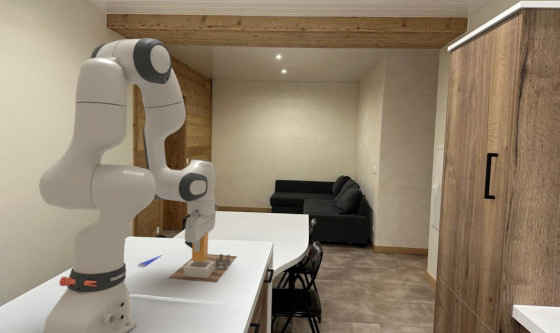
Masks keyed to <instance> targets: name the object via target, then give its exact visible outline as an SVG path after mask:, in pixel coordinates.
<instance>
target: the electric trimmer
mask: <svg viewBox="0 0 560 333" xmlns="http://www.w3.org/2000/svg"><path fill="white" fill-rule="evenodd" d="M184 244H185V245H186V246H188V247H189V248H191V249H192V242H186V241H185V240H184Z"/></svg>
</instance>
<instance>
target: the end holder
mask: <svg viewBox="0 0 560 333" xmlns="http://www.w3.org/2000/svg"><path fill="white" fill-rule="evenodd" d="M214 266H215V261H204V262H203V261H192V260H191V261H190V262H189V263H188V264H187V265H185V266H184V275H183V276H189V277H201V278H208V277H209V275H210V274H211V273H212V272H213V271H214Z"/></svg>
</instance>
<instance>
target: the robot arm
mask: <svg viewBox="0 0 560 333" xmlns="http://www.w3.org/2000/svg"><path fill="white" fill-rule="evenodd" d="M129 85H136V86H137V87H138V88H139V89H140V91H141V98H142V103H143V108H144V112H145V113H144V114H145V123H144V125H143V127H142V141H143V149H144V156H145V166H146V168H144V167H139V166H135V165H131V164H109V163H108V164H105V163H101V162H102V158H103V155H104V154H105V153H106V152H107V151H109V150H112V149H114V148H117V147H119V146H120V145H121V144H122V143H123V142H124V141H125V140H126V138H127V137H126V136H127V126H128V125H127V122H128V121H127V120H128V117H127V116H128V97H127V96H128V93H127V91H128V87H129ZM74 109H75V111H74V112H75V113H74V126H73V134H72V138H71V142H70V143H69V145H68V148H67V150H66V151H65V152H64V154H63V155H62V156H61V158H60V159H58V161H56V162H55V163H53V164H52V165H50V166H49V167H48V168H47V169H45V171H44V172H43V173H42V175H41V178H40V180H39V185H38V188H39V189H38V190H39V194H40V196H41V198H42V199H43V201H44V202H45V203H46V204H47V205H48V206H52V207H57V208H62V209H67V210H88V211H89V210H91V211H92V210H94V211H95V210H97V211H99V215H98V216H99V217H98V219H97V221H96V222H93V223H90V224H89V225H87V226H84V227H83V228H81V229H80V230H79V231H78V232H77V233H76V234H75V236H74V237H73V242H72V246H73V247H72V248H73V249H72V253H73V255H72V258H73V259H72V268H71V270H70V273H69V275H68V277H67V276H61V277H60V279H59V282H58V285H59V286H60V287H64V286H65V287H67V288H66V290H65V291H64V293H63V294H62V295H61V297H60V298H59V300H58V301H57V303H56V304H55V305H54V307H53V309H51V311H50V313H49V314H48V315H47V316H46V318H45V321H44V325H43V326H44V327H43V333H127V332H130V330H132V329H133V328H135V327H137V325H136V324H137V323H136V320H135V319H134V318H133V317H132V304H131V292H130V290H129V289H128V287H127V285H126V282H125V280H126V279H127V278H126V277H127V267H126V263H125V246H126V245H125V244H126V237H127V232H128V231H129V230H128V229H129V227H130V225H131V223H132V221H133V220H134V219H135V217H136V216H137V215H138V214H139V213H140V212H142V211H143V210H145V208H147V207H148V206H149V205H150V204H152V201H154V199H155V200H160V201H161V200H165V201H166V200H167V201H168V200H169V201H175V202H181V203H182V202H183V203H187V214H188V215H189V217H187V218H186V222H185V228H184V242H185V241H186V242H193V245H194V251H195V252H199V251H200V250H201V245H200V239H201V238H202V237H203V236H204V234H205V233H207V232H208V234H209V233H210V232H211V231H212V230H214V228H215V226H216V217H217V216H216V214H217V210H218V203H217V202H216V197H215V188H216V169H215V165H214V163H213V162H212V161H210V160H207V159H206V160H205V159H198V158H196V159H195V158H194V159H191V161H190V163H189V165H187V166H186V167H184V168H183V169H180V170H179V169H171V168H169V167H168V166H167V160H166V150H165V140H167V139H166V138H167V137H168V136H171V135H172V134H174V133H176V132H177V131H179V129H181V127H183V125H184V124H185V121H186V117H187V116H186V115H187V114H186V112H187V111H186V107H185V102H184V98H183V93H182V90H181V87H180V84H179V81H178V78H177V75H176V74H175V71H174V69H173V63H172V56H171V53H170V50H168V48H167V46H166V45H165V44H164V43H163V42H162V41H161V40H158V39H156V38H150V37H144V38H131V39H127V38H125V39H123V38H122V39H119V40H115V41H112V42H105V43H102V44H100V45H98V46H97V47H95V48H94V50H93V51H92V52H91V55H90V58H89V59H86V60H85V61H84V62H83V63H82V64H81V66H80V70H79V73H78V78H77V84H76V92H75V108H74Z"/></svg>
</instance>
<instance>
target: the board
mask: <svg viewBox="0 0 560 333" xmlns="http://www.w3.org/2000/svg"><path fill="white" fill-rule="evenodd" d="M236 258H238V256H236V255H231V254H226V255H225V254H222V253H221V254H220V253H219V254H215V253H213V254H212V253H211V254H210V253H208V256H207V259H206V260H205V261H215V266H214V271H213V272H212V273H211V274H210V275H209V277H208V278H201V277H189V276H183V275H184V266H185V265H187V264H188V263H189V262H190V261H191V260H192V257H191V258H190V259H189V260H188V261H186V262H185V263H184V264H183V265H182V266H181V267H180V268H178V269H177V270H176V271H175V272H174V273H172V274H171V275H170V276H169V277H168V279H170V280H180V281H181V280H182V281H184V280H185V281H195V282H205V283H217V282H218V281H219V280H221V278H222V276H223V275H224V274H225V273H226V272H227V270H228V268H230V266H231V265H232V263H233V262H234V261H235V260H236Z"/></svg>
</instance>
